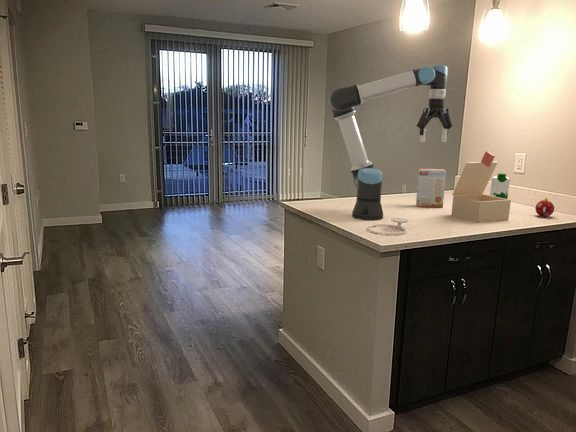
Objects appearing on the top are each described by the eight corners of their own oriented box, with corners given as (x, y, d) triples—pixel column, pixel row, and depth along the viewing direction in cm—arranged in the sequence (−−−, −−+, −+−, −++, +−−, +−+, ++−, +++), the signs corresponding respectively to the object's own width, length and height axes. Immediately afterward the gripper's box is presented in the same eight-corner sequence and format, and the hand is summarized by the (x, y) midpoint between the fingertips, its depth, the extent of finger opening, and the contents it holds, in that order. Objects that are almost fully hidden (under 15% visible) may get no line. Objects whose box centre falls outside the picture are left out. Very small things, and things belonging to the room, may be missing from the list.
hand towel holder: (359, 220, 209) (391, 215, 220) (358, 229, 210) (391, 224, 221) (388, 228, 195) (420, 222, 207) (387, 238, 196) (420, 232, 208)
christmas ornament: (553, 216, 247) (556, 197, 245) (552, 219, 240) (555, 199, 238) (535, 214, 252) (537, 195, 249) (533, 216, 244) (536, 197, 242)
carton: (478, 222, 228) (480, 202, 226) (451, 214, 244) (453, 195, 242) (508, 219, 236) (510, 199, 234) (480, 212, 252) (482, 193, 250)
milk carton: (489, 210, 257) (493, 174, 253) (487, 207, 266) (491, 172, 262) (507, 212, 255) (511, 175, 251) (504, 208, 264) (508, 173, 259)
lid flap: (478, 156, 225) (471, 151, 229) (458, 200, 239) (452, 194, 242) (508, 155, 233) (501, 150, 237) (488, 198, 247) (481, 193, 250)
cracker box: (440, 206, 267) (444, 169, 263) (443, 208, 262) (446, 170, 257) (415, 204, 269) (418, 168, 264) (417, 207, 263) (420, 169, 258)
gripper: (421, 97, 225) (418, 142, 230) (462, 99, 235) (457, 142, 240) (411, 97, 232) (408, 141, 237) (451, 99, 242) (447, 141, 247)
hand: (433, 141), depth 238 cm, fingers open, 13 cm apart
